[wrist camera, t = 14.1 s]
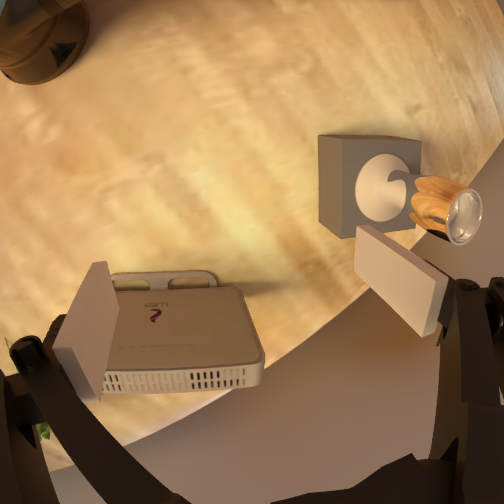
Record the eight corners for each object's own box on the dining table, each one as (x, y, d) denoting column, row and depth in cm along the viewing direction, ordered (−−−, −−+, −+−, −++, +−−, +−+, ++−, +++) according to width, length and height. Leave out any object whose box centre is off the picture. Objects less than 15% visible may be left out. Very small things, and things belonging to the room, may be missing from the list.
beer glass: (370, 165, 41) (447, 191, 27) (409, 160, 41) (485, 183, 28) (373, 213, 43) (443, 254, 30) (409, 205, 44) (480, 240, 31)
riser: (317, 135, 46) (343, 139, 38) (391, 136, 48) (422, 141, 41) (318, 221, 52) (342, 240, 44) (388, 213, 54) (416, 229, 46)
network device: (237, 268, 52) (270, 347, 34) (236, 313, 55) (264, 399, 37) (82, 274, 46) (42, 354, 28) (91, 319, 50) (65, 405, 32)
